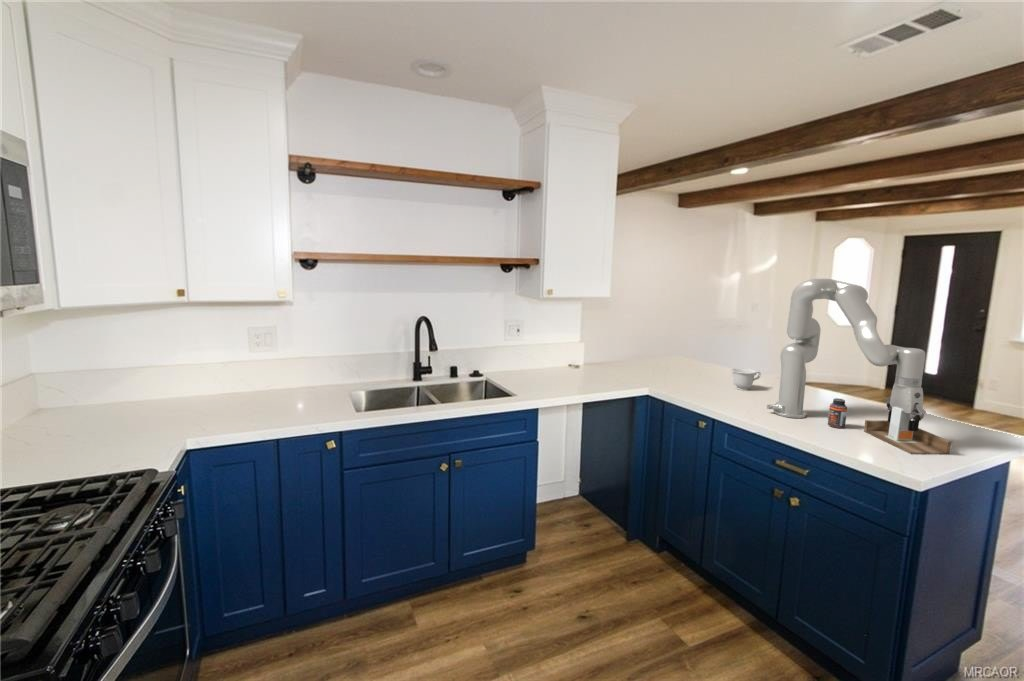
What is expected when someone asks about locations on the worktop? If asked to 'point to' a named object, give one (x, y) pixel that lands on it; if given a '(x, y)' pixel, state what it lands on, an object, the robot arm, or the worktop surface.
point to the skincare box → (899, 425)
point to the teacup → (744, 377)
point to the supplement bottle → (837, 413)
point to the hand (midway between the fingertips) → (902, 426)
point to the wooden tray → (919, 444)
